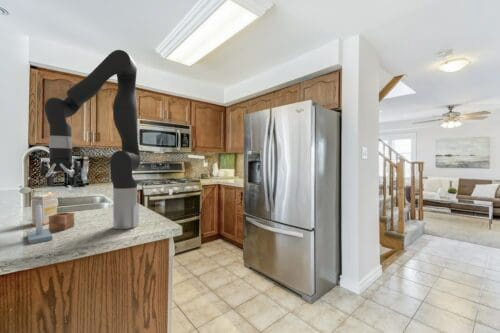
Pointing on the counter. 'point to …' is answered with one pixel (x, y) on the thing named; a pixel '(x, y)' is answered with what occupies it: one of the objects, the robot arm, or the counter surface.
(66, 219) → the brown wooden cube
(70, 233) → the counter surface
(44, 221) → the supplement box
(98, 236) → the counter surface
